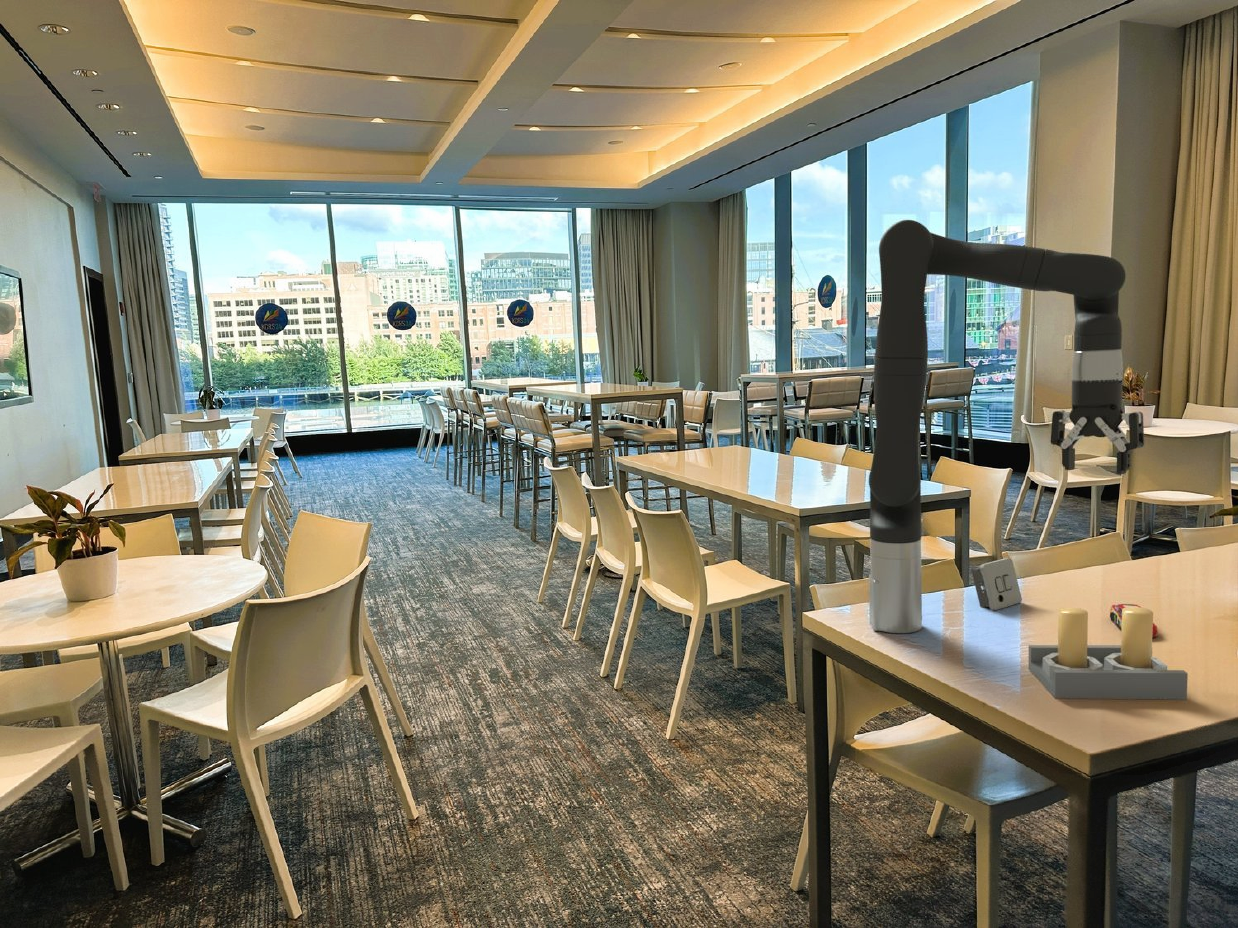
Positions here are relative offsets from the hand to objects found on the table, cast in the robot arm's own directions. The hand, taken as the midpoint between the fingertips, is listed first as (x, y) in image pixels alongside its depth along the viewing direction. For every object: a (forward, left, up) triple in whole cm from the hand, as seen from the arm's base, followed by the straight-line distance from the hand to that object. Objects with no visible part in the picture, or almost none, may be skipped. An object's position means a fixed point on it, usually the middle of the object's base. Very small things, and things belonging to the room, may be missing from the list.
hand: (1095, 471), depth 145 cm
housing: (-6, -20, -30) cm, 37 cm away
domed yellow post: (-1, -20, -28) cm, 35 cm away
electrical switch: (-10, +22, -30) cm, 39 cm away
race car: (+9, +7, -31) cm, 33 cm away
